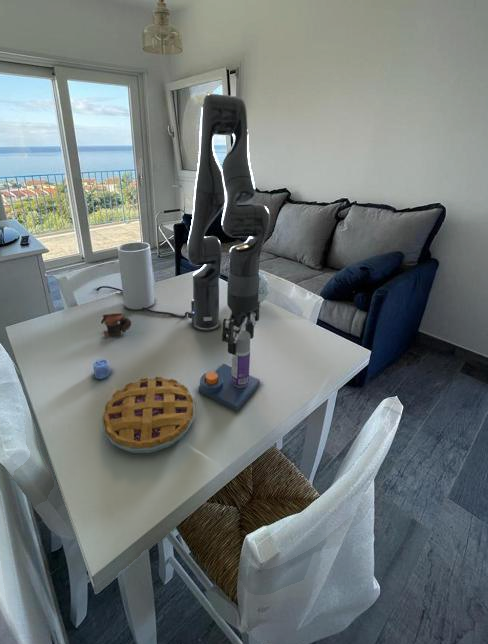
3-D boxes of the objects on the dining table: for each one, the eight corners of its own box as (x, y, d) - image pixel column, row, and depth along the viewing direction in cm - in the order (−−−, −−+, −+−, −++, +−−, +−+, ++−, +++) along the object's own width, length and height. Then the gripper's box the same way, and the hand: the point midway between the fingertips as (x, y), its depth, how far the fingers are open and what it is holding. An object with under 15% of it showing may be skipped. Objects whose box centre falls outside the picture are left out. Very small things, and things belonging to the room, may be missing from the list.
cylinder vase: (126, 297, 139) (119, 242, 130) (155, 296, 140) (150, 241, 131) (122, 311, 128) (115, 252, 118) (153, 309, 129) (149, 250, 119)
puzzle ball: (252, 293, 142) (254, 261, 137) (275, 306, 130) (278, 272, 125) (224, 301, 135) (224, 268, 130) (245, 316, 123) (247, 280, 118)
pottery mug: (96, 339, 110) (94, 315, 111) (112, 336, 119) (111, 314, 120) (125, 336, 106) (123, 311, 107) (140, 333, 115) (138, 311, 116)
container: (250, 377, 88) (252, 331, 82) (246, 389, 84) (248, 341, 78) (233, 374, 89) (235, 328, 84) (229, 385, 85) (230, 338, 80)
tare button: (203, 381, 85) (203, 376, 84) (210, 375, 87) (210, 370, 86) (213, 386, 83) (213, 381, 82) (219, 379, 85) (219, 374, 85)
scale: (195, 391, 86) (195, 381, 84) (221, 367, 95) (222, 357, 94) (235, 413, 79) (235, 402, 77) (259, 384, 88) (260, 374, 87)
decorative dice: (94, 371, 94) (93, 360, 92) (109, 368, 95) (107, 357, 93) (95, 380, 90) (93, 369, 89) (110, 377, 91) (108, 365, 90)
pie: (203, 450, 69) (203, 433, 67) (98, 470, 65) (95, 453, 63) (188, 382, 89) (187, 367, 87) (107, 394, 85) (104, 379, 83)
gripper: (244, 275, 84) (242, 328, 90) (213, 295, 73) (213, 353, 79) (270, 282, 79) (266, 337, 85) (241, 303, 69) (239, 365, 75)
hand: (240, 345), depth 82 cm, fingers open, 8 cm apart
